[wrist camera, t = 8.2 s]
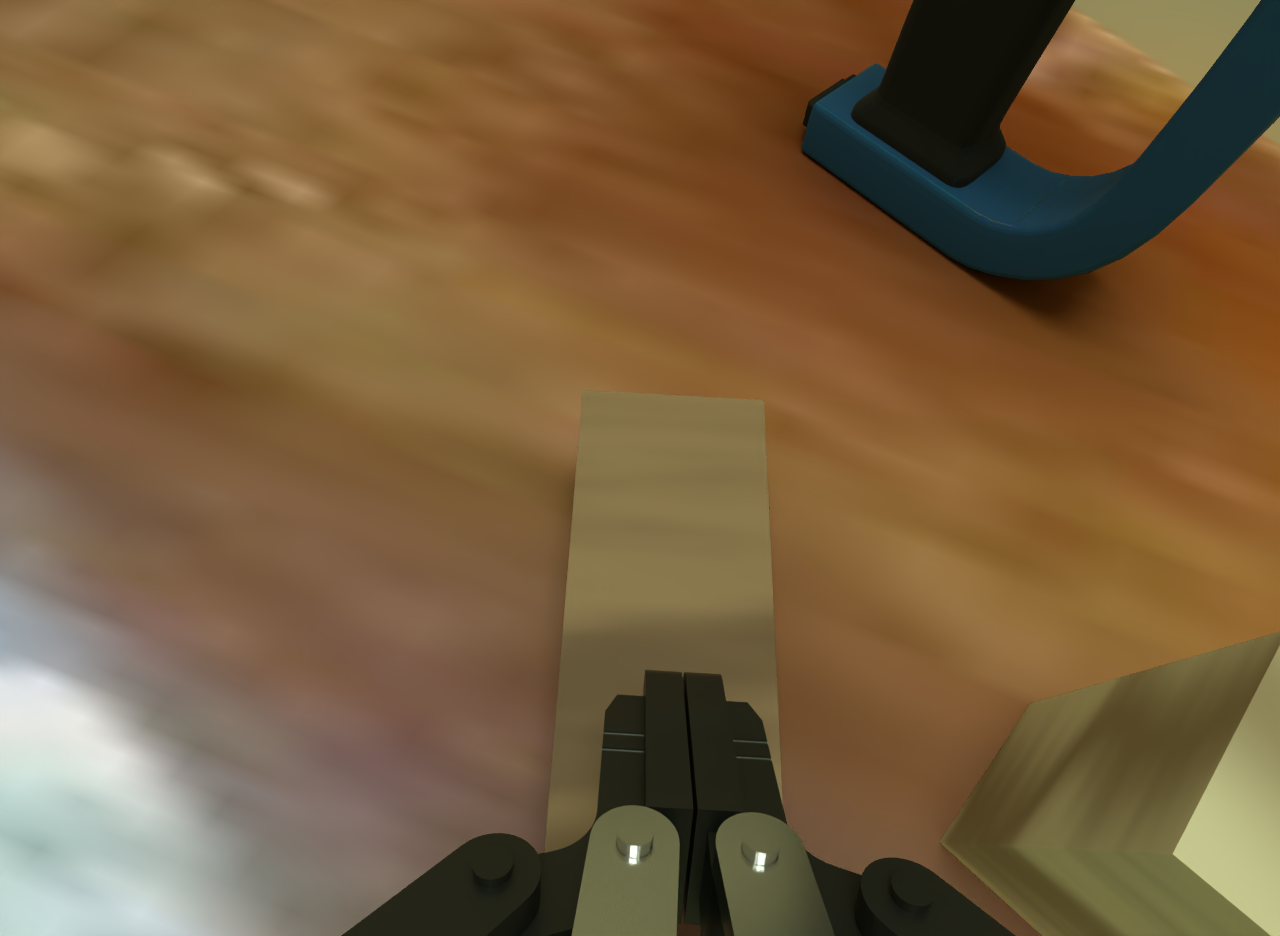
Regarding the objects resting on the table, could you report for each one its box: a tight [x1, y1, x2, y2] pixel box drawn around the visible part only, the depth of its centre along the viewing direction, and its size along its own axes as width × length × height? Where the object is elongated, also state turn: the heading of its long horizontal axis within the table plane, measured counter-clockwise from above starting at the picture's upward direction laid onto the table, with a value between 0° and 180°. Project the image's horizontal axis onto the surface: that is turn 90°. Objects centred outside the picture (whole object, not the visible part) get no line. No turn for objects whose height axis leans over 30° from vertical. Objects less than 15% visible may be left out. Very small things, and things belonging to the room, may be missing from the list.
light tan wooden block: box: [544, 390, 783, 853], centre depth 20 cm, size 5×5×12 cm
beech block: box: [940, 632, 1280, 936], centre depth 16 cm, size 5×5×9 cm
